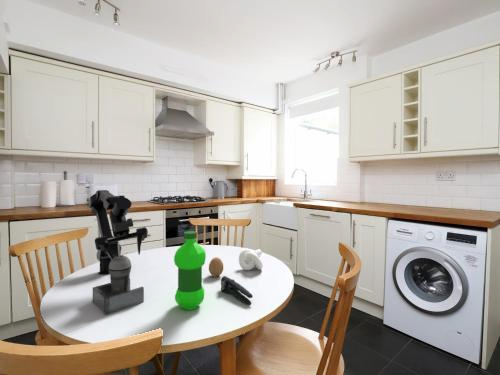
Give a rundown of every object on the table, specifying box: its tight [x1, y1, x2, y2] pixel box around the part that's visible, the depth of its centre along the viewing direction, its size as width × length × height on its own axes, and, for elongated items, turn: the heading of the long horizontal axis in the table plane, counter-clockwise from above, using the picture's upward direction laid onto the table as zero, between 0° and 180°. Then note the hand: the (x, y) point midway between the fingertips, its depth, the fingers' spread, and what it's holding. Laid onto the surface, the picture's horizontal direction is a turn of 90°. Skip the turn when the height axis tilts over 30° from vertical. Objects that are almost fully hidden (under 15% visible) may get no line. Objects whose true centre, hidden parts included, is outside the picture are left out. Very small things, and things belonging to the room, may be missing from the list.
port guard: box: [92, 277, 145, 316], centre depth 90 cm, size 12×12×5 cm
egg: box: [208, 257, 224, 277], centre depth 115 cm, size 6×6×8 cm
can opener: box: [220, 275, 253, 306], centre depth 96 cm, size 18×7×6 cm, turn 37°
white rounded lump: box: [238, 248, 264, 271], centre depth 126 cm, size 11×12×9 cm
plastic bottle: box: [173, 230, 207, 311], centre depth 87 cm, size 10×10×25 cm
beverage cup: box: [108, 242, 132, 295], centre depth 90 cm, size 7×7×20 cm
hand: (126, 257), depth 100 cm, fingers open, 9 cm apart
